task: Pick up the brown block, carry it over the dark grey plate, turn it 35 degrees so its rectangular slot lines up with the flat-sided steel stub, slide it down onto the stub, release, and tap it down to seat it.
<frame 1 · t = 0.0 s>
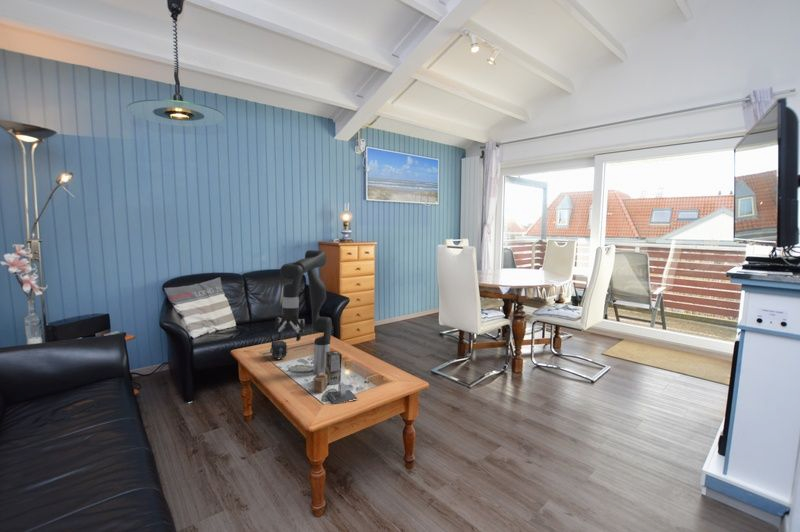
hand: (289, 340, 174), 29 cm above the table, fingers open, 8 cm apart
camera: (278, 358, 244), on the table
brown block: (320, 390, 190), on the table
stub plate: (341, 397, 181), on the table
coffee box: (332, 381, 203), on the table
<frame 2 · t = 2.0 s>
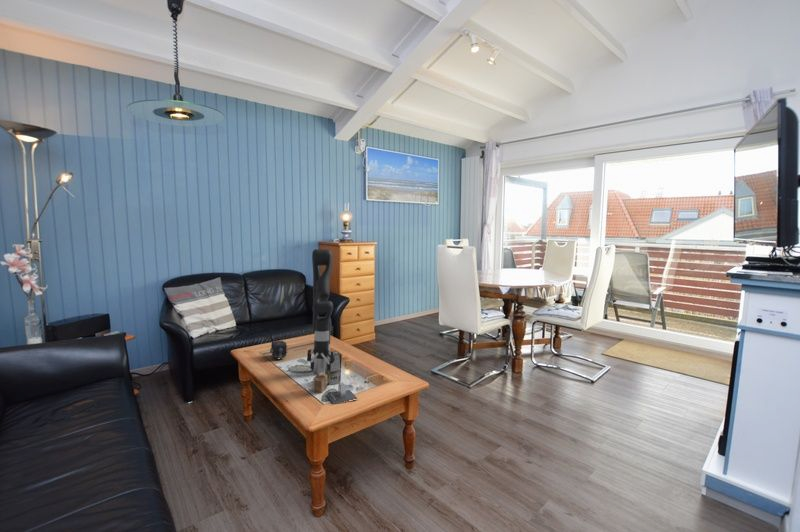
hand: (320, 370, 189), 11 cm above the table, fingers open, 8 cm apart
nothing on the table moved.
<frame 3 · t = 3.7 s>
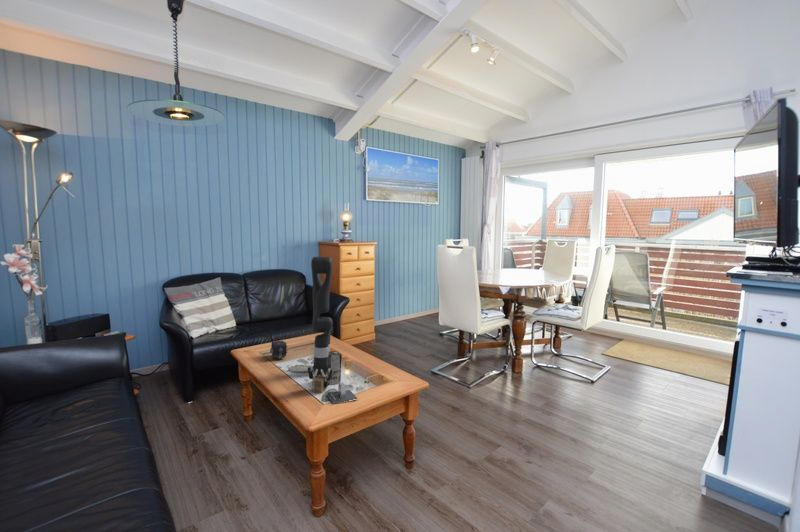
hand: (320, 387, 190), 1 cm above the table, fingers closed on brown block, 5 cm apart
brown block: (320, 390, 190), on the table, touching gripper
everything else where it was.
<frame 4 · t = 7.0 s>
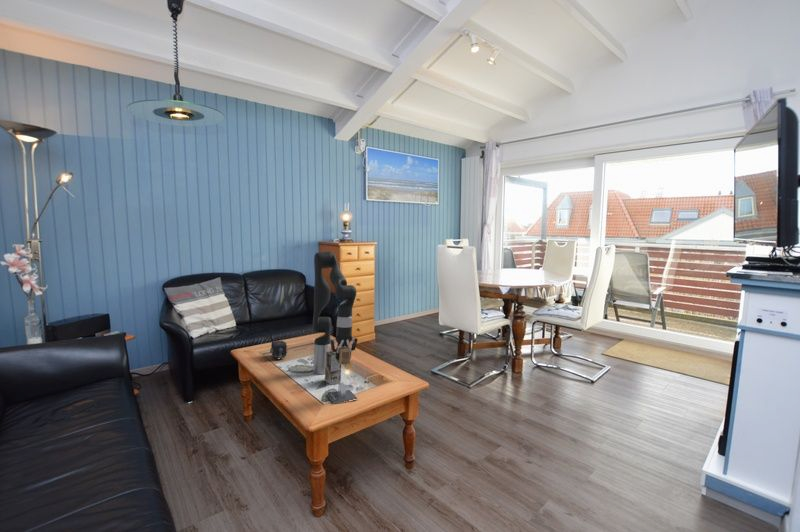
hand: (343, 359, 180), 19 cm above the table, fingers closed on brown block, 5 cm apart
brown block: (343, 362, 180), point 18 cm above the table, touching gripper
everything else where it was.
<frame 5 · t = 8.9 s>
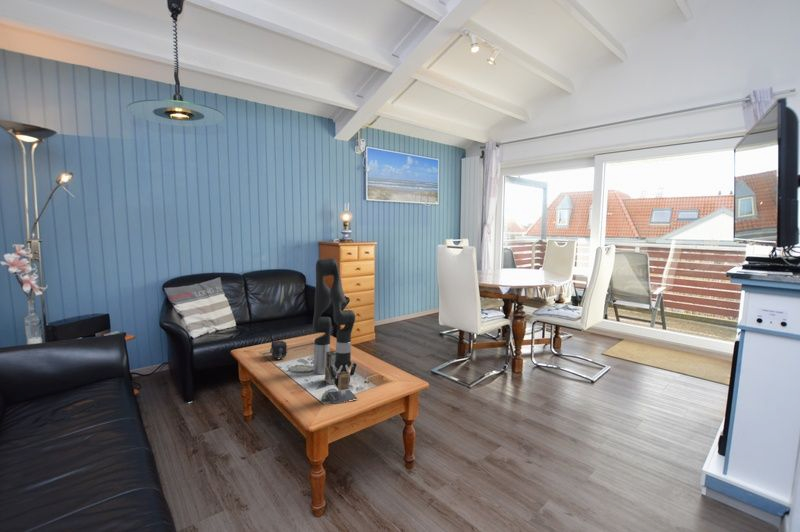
hand: (342, 384, 180), 7 cm above the table, fingers closed on brown block, 5 cm apart
brown block: (342, 387, 180), point 5 cm above the table, touching gripper
everything else where it was.
when the fingers open (4 cm above the table, at t = 10.4 s): brown block stays where it is, resting on stub plate.
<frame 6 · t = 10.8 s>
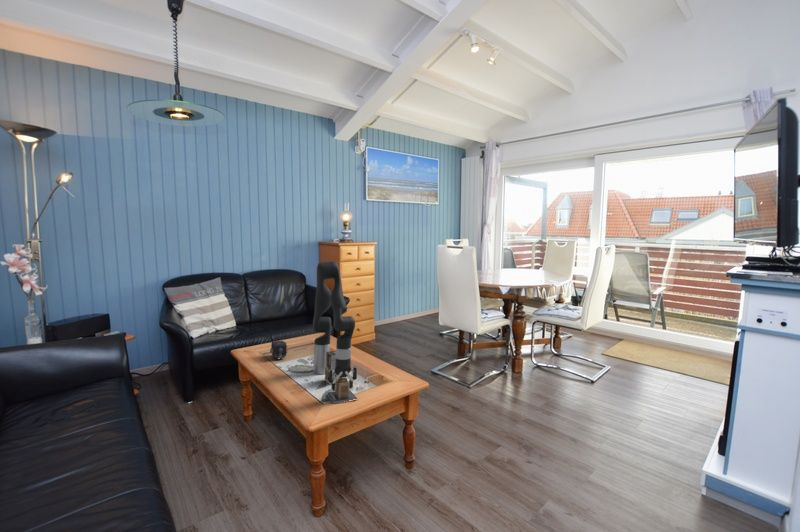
hand: (342, 389, 181), 4 cm above the table, fingers open, 8 cm apart
brown block: (342, 395, 181), point 1 cm above the table, touching stub plate
everything else where it was.
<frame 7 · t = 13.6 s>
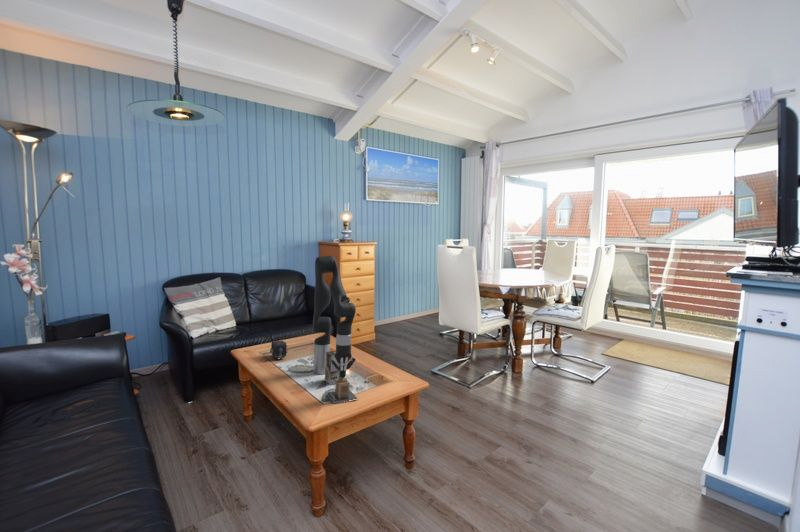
hand: (342, 377, 181), 10 cm above the table, fingers closed
nothing on the table moved.
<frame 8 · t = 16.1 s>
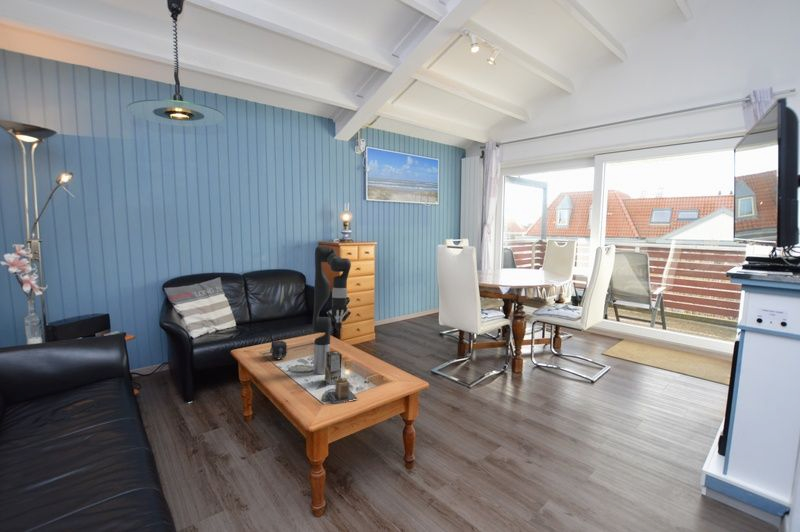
hand: (338, 329, 190), 32 cm above the table, fingers closed
nothing on the table moved.
at the end: brown block 0.1 cm off-centre on the stub plate, point 1.2 cm above the stub plate's base; brown block tilted 0°; the gripper is holding nothing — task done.
